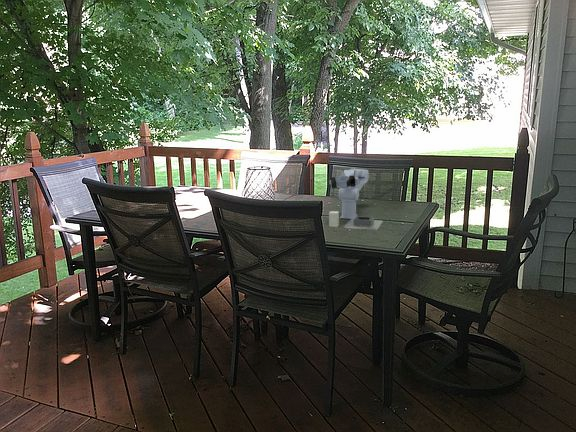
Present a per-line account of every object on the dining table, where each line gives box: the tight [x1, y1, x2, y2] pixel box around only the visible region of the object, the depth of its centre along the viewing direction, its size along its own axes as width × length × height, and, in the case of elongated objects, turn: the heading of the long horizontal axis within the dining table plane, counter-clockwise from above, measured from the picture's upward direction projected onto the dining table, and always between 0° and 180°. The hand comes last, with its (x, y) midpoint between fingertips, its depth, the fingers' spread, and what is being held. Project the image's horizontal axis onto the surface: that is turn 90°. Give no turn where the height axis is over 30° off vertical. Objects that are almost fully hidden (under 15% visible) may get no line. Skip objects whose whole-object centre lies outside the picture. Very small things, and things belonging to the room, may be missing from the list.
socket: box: [344, 215, 383, 231], centre depth 252 cm, size 16×16×4 cm
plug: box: [328, 210, 340, 228], centre depth 252 cm, size 4×4×7 cm
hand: (339, 184), depth 247 cm, fingers open, 7 cm apart
